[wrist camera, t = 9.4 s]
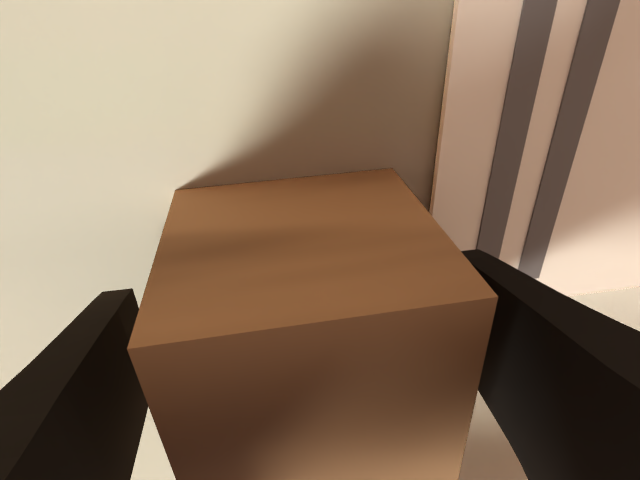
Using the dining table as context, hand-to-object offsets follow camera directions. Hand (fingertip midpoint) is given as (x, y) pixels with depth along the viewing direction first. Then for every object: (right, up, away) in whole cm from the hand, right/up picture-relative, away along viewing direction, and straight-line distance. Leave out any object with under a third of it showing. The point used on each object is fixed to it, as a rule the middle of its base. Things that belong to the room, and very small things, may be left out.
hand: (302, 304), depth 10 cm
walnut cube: (0, +1, +1) cm, 2 cm away
